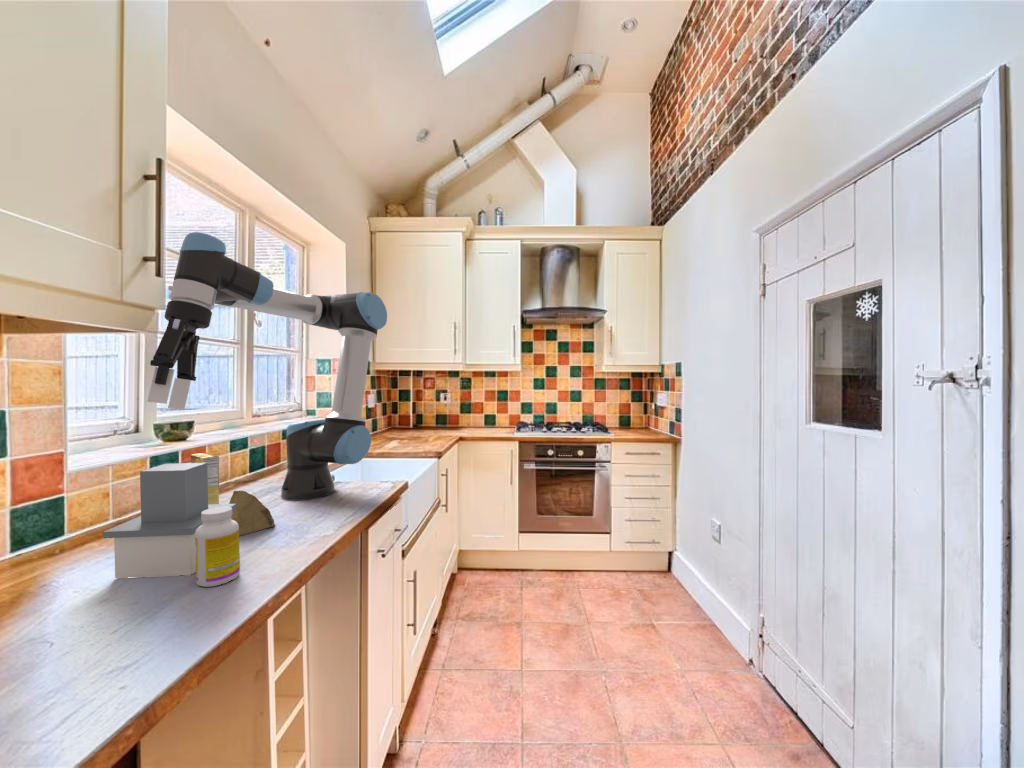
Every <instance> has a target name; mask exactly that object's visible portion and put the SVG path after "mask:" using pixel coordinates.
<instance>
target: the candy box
mask: <svg viewBox="0 0 1024 768" xmlns="http://www.w3.org/2000/svg"><path fill="white" fill-rule="evenodd" d="M219 461H220V456H219V455H217V454H211V453H208V452H201V453H193V454H190V463H207V475H208V505H211V504H220V488H219V487H220V481H219V480H220V463H219Z"/></svg>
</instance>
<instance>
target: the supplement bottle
mask: <svg viewBox="0 0 1024 768" xmlns="http://www.w3.org/2000/svg"><path fill="white" fill-rule="evenodd" d="M231 516H232V507H228V506H223V507H215V508H210V509H207V510H204V511H202V512H201V519H202V521H203V524H202V525H201V526H199V527H198V528H197V529H196V531H195V559H196V572H195V582H196V584H197V586H200V587H205V588H206V587H207V588H209V587H210V588H211V587H218V586H221V584H222V585H224V584H225V585H226V584H227V583H229V581H230V582H232V581H233V580H235V579H236V578H238V576H239V575H240V573H241V568H240V567H241V563H240V562H241V558H240V557H241V556H240V536H239V525H238V523H237V522H236V521H234V520H231ZM231 580H232V581H231ZM217 585H218V586H217Z"/></svg>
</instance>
